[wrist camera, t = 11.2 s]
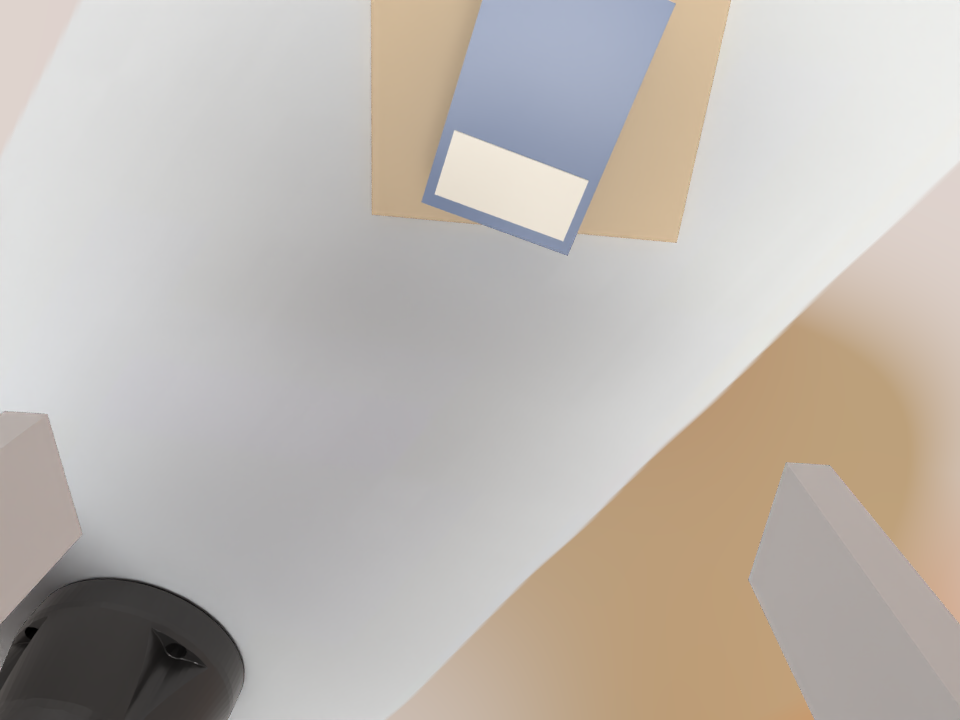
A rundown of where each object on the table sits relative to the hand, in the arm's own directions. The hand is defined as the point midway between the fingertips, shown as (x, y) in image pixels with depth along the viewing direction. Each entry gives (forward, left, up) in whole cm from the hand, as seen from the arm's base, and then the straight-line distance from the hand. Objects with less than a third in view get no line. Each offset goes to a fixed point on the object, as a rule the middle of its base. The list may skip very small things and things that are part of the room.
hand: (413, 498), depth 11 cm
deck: (+2, +6, -19) cm, 20 cm away
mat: (+2, +6, -20) cm, 21 cm away
